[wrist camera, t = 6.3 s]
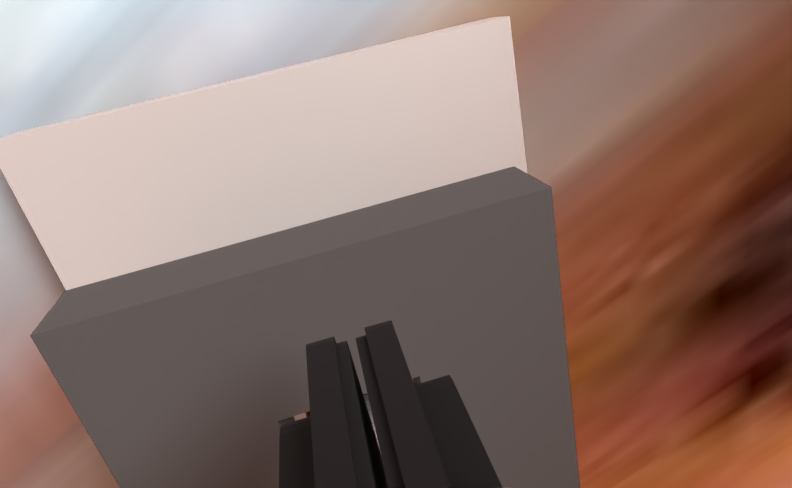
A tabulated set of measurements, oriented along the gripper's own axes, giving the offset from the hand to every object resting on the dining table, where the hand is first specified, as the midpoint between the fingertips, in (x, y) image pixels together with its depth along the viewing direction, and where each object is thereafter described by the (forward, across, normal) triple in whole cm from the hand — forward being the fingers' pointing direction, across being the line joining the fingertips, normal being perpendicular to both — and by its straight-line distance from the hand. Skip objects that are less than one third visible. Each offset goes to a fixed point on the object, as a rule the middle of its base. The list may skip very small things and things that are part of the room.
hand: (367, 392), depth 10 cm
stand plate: (+15, +1, +6) cm, 16 cm away
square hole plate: (+7, +1, +6) cm, 9 cm away
